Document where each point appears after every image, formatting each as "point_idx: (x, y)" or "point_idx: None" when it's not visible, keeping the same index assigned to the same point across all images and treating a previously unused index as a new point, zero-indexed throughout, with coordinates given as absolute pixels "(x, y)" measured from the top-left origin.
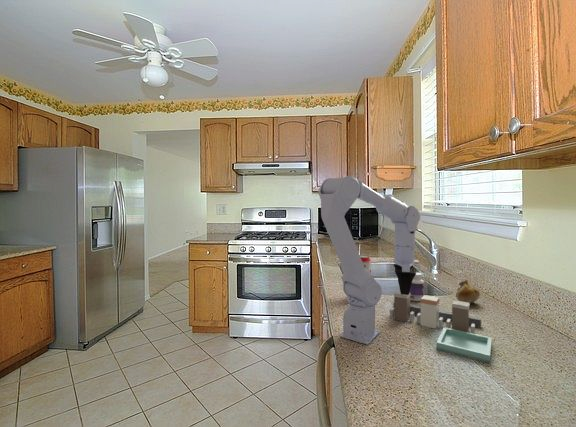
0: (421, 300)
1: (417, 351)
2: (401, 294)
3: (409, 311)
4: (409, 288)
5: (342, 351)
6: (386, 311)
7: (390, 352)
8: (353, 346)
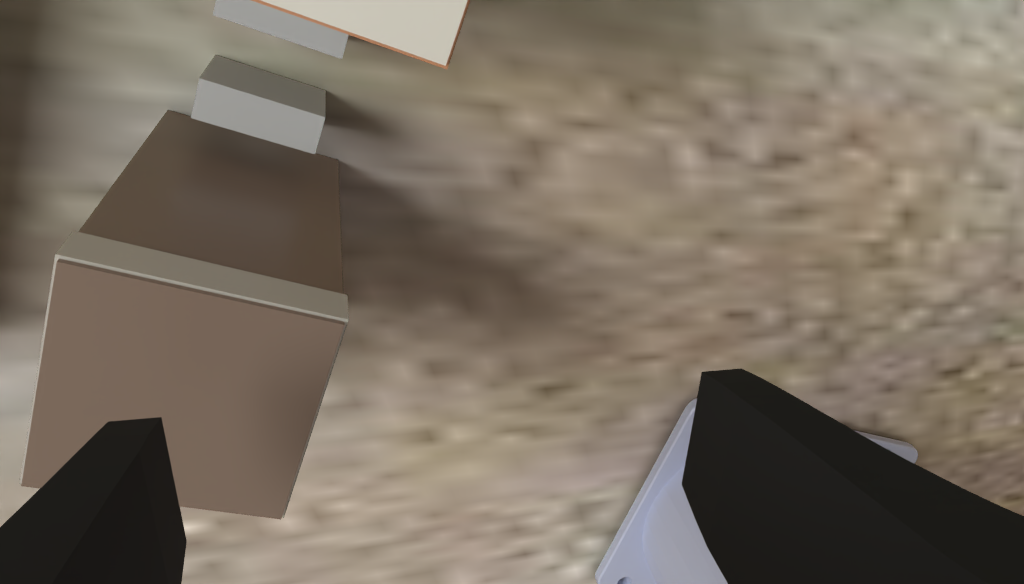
0: (452, 47)
1: (1012, 108)
2: (290, 415)
3: (180, 147)
4: (851, 442)
5: None
6: None
7: (1008, 301)
8: None
